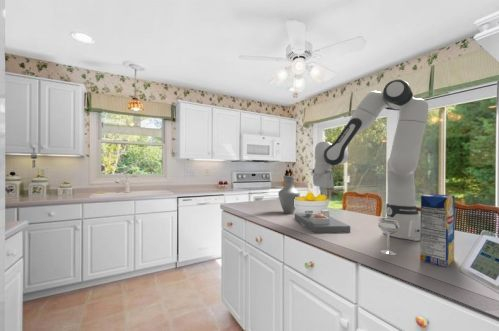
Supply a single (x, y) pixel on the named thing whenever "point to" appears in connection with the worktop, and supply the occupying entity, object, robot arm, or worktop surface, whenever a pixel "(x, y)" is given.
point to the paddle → (325, 213)
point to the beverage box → (437, 229)
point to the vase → (288, 195)
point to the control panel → (322, 223)
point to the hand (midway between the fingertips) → (322, 195)
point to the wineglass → (388, 230)
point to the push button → (319, 216)
